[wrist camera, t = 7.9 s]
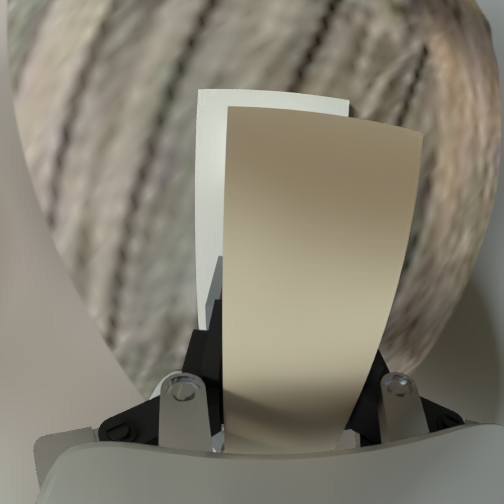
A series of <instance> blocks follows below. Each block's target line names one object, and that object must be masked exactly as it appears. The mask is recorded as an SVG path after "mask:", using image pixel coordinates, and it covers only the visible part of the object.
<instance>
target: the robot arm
mask: <svg viewBox="0 0 504 504" xmlns="http://www.w3.org/2000/svg"><path fill="white" fill-rule="evenodd" d="M222 424H224V409H223V350H222V300H221V299H215V301H214V305H213V310H212V315H211V319H210V324H209V329H208V330H196V329H194V330H193V332H192V336H191V339H190V343H189V347H188V350H187V354H186V358H185V361H184V365H183V369H182V372H181V373H177V374H174V375H171V376H169V377H168V378H166V379H165V380H164V381H163V383H162V385H161V390H160V395H158V396H156V397H154V398H152V399H150V400H148V401H146V402H144V403H142V404H140V405H137V406H135V407H133V408H131V409H129V410H126V411H124V412H122V413H120V414H117V415H115V416H113V417H110V418H109V419H107V420H105V421H104V422H103V423H102V424H101V425H100V427H99V428H97V429H92V427H87V428H83V429H77V430H72V431H67V432H61V433H55V434H49V435H45V436H42V437H40V438H39V439H38V440H36V442H35V444H34V459H35V464H36V471H37V476H38V481H39V487H40V492H39V494H38V496H37V499H36V502H35V504H504V425H501V424H497V423H487V422H481V423H480V422H476V421H472V420H467V419H466V420H465V422H464V421H463V419H462V418H461V417H460V416H459V415H458V414H457V413H455V412H454V411H451V410H449V409H447V408H445V407H443V406H440V405H438V404H436V403H434V402H432V401H429V400H427V399H425V398H423V397H420V395H419V392H418V388H417V385H416V383H415V381H414V380H413V379H412V378H411V377H409V376H408V375H406V374H403V373H399V372H391V373H390V372H389V370H388V368H387V365H386V363H385V361H384V359H383V357H382V355H381V353H380V351H379V349H378V350H377V352H376V355H375V358H374V361H373V363H372V366H371V368H370V371H369V374H368V376H367V379H366V381H365V384H364V386H363V388H362V391H361V393H360V396H359V398H358V400H357V402H356V405H355V407H354V409H353V411H352V414H351V416H350V418H349V420H348V422H347V424H346V426H345V429H344V430H347V429H352V430H353V431H355V432H356V433H355V448H352V449H345V450H336V451H326V452H314V453H297V454H235V453H218V452H213V448H212V440H211V437H213V436H214V435H216V434H217V433H219V432H221V427H222Z"/></svg>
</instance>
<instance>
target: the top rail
mask: <svg viewBox="0 0 504 504" xmlns="http://www.w3.org/2000/svg"><path fill="white" fill-rule="evenodd" d="M422 143H423V133H422V132H419V131H415V130H411V129H406V128H402V127H398V126H393V125H389V124H384V123H379V122H374V121H369V120H364V119H358V118H352V117H346V116H339V115H333V114H325V113H318V112H309V111H300V110H290V109H278V108H263V107H241V106H228V111H227V131H226V155H225V183H224V218H223V280H222V350H223V409H224V442H225V453H235V454H297V453H314V452H326V451H333V450H334V448H335V446H336V445H337V442H338V441H339V439H340V437H341V435H342V433H343V431H344V429H345V426H346V424H347V422H348V420H349V418H350V416H351V414H352V411H353V409H354V407H355V405H356V402H357V400H358V398H359V396H360V393H361V391H362V388H363V386H364V384H365V381H366V379H367V376H368V374H369V371H370V368H371V366H372V363H373V361H374V358H375V355H376V352H377V350H378V347H379V344H380V341H381V338H382V335H383V332H384V329H385V326H386V323H387V320H388V317H389V313H390V310H391V307H392V303H393V300H394V296H395V293H396V289H397V285H398V282H399V278H400V274H401V270H402V266H403V262H404V257H405V253H406V249H407V244H408V239H409V234H410V229H411V224H412V219H413V213H414V207H415V201H416V194H417V188H418V180H419V172H420V164H421V154H422Z"/></svg>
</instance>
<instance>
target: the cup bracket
mask: <svg viewBox="0 0 504 504" xmlns="http://www.w3.org/2000/svg"><path fill="white" fill-rule="evenodd" d="M228 106H241V107H263V108H278V109H290V110H300V111H309V112H318V113H325V114H333V115H339V116H346V117H348V115H349V100H343V99H337V98H330V97H323V96H316V95H308V94H299V93H289V92H277V91H262V90H239V89H198V104H197V128H196V164H195V240H196V277H197V302H198V321H199V330H208V329H209V324H210V319H211V315H212V310H213V305H214V301H215V299H221V300H222V280H223V218H224V183H225V155H226V131H227V111H228Z"/></svg>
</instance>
